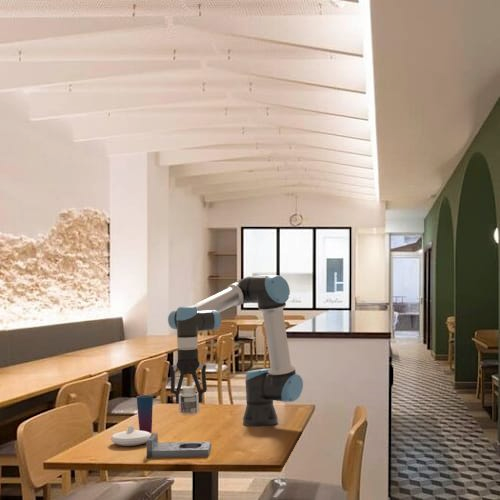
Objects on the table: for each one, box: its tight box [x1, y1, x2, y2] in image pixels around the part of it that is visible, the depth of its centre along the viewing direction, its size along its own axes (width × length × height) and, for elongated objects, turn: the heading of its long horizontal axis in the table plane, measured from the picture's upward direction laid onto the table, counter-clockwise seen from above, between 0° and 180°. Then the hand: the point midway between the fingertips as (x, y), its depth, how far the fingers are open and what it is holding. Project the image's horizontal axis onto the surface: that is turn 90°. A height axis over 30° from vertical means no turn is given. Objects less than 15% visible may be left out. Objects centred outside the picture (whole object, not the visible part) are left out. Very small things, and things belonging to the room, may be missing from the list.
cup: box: [136, 394, 154, 434], centre depth 302 cm, size 7×7×15 cm
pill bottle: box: [181, 385, 198, 416], centre depth 264 cm, size 6×6×10 cm
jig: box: [145, 432, 212, 459], centre depth 264 cm, size 22×13×6 cm, turn 89°
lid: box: [110, 424, 152, 447], centre depth 281 cm, size 16×16×7 cm
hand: (189, 411), depth 264 cm, fingers closed on pill bottle, 6 cm apart
